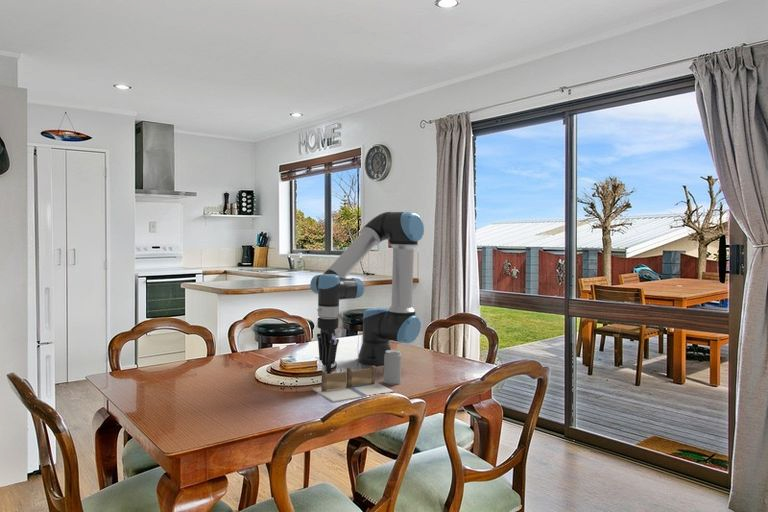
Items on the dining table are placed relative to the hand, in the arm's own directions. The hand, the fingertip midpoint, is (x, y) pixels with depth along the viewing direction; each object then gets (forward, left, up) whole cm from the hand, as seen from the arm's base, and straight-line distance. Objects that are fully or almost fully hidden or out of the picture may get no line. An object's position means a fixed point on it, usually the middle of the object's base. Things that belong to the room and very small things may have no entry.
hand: (326, 381), depth 196 cm
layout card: (+9, +6, -2) cm, 11 cm away
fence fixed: (+6, +11, -2) cm, 13 cm away
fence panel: (+6, 0, -1) cm, 6 cm away
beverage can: (+7, +24, -2) cm, 25 cm away
